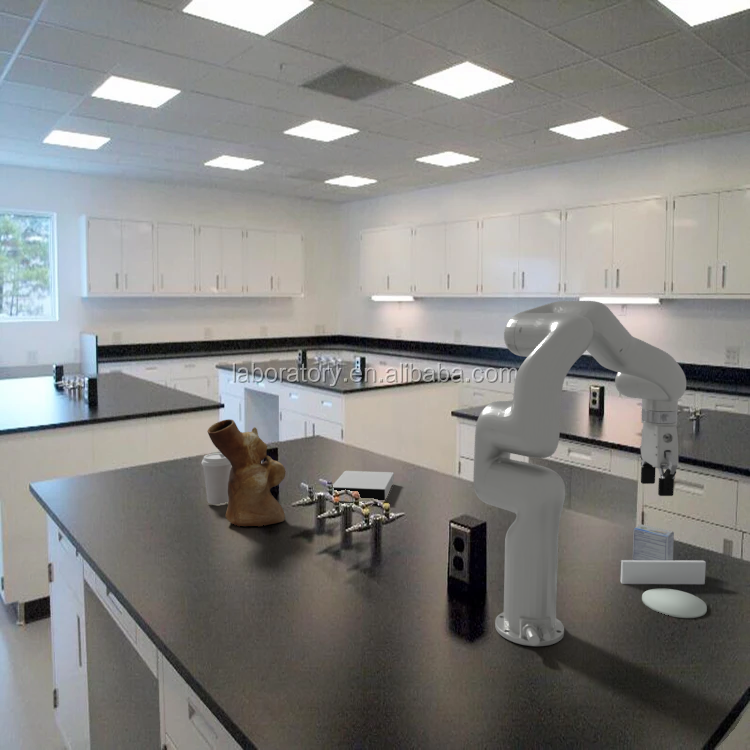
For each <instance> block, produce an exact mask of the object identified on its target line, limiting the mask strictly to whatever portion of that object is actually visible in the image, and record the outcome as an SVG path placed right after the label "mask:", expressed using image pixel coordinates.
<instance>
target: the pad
mask: <svg viewBox="0 0 750 750" xmlns="http://www.w3.org/2000/svg"><path fill="white" fill-rule="evenodd" d="M641 601H642V603H643V604H644V605H645V606H646V607H647V608H649V609H650V610H652V611H654V612H657V613H658V612H659V614H661V613H662V615H664V614H665V615H666V616H668V615H669V616H668V617H673V618H678V619H679V618H680V619H696V618H700V617H702V616H704V615H705V614H707V611H708V610H707V609H708V607H707V603H706V602H705V601H704V600H702V599H701V598H700V597H698V596H697V595H694V594H692V593H689V592H686V591H682V590H678V589H675V588H674V589H672V588H664V587H663V588H662V587H661V588H659V587H658V588H652V589H651V588H650V589H648V590H646V591H644V592H643V593H642V595H641Z"/></svg>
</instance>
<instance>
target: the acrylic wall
mask: <svg viewBox="0 0 750 750" xmlns="http://www.w3.org/2000/svg"><path fill="white" fill-rule="evenodd" d="M620 562H621V563H620V583H621V584H622V585H705V582H706V581H705V580H706V568H707V567H706V566H707V564H706V563H707V562H706V561H705V560H700V559H699V560H696V559H695V560H694V559H693V560H692V559H691V560H688V559H687V560H686V559H685V560H682V559H681V560H680V559H678V560H674V559H673V560H633V559H621V560H620Z"/></svg>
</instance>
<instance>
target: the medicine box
mask: <svg viewBox="0 0 750 750" xmlns="http://www.w3.org/2000/svg"><path fill="white" fill-rule="evenodd" d="M632 539H633V542H632V560H674V540H675V532H674V531H672V530H668V529H666V528H665V529H664V528H661V527H660V528H659V527H656V526H650V525H647V524H639V525H638V526H635V528H633V538H632Z"/></svg>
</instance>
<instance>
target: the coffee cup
mask: <svg viewBox="0 0 750 750" xmlns="http://www.w3.org/2000/svg"><path fill="white" fill-rule="evenodd" d="M200 463H201V465H202V468H203V469H202V470H203V476H204V483H205V484H204V485H205V492H206V502H208V503H211V504H220V503H225V502H228V500H229V499H228V481H229V475H230V470H231V468H232V465H231V463H230V462H229V460H228V459H227V458H226V457H225V456H224V455H223V454H222V453H221V452H217V453H210V454H206V455H203V458H202V460H201V462H200ZM208 503H207V504H208Z"/></svg>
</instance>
